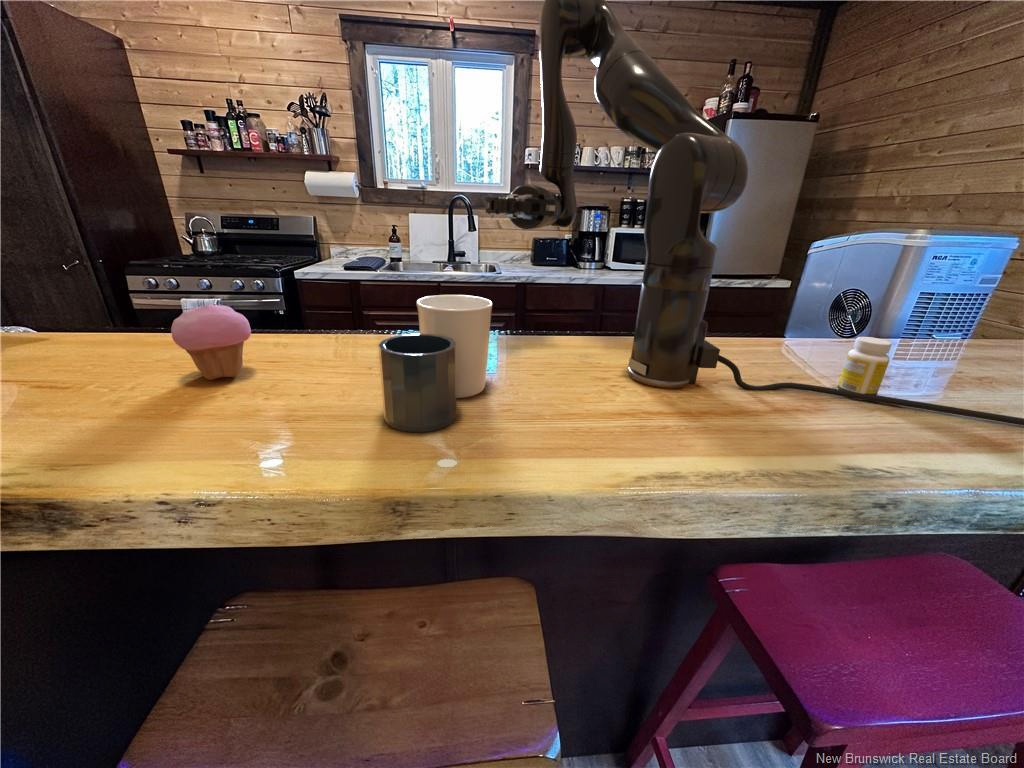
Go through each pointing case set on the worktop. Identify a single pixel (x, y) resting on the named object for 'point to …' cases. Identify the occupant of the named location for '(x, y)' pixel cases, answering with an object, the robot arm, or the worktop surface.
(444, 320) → the cream tumbler
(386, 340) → the cup
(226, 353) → the cupcake
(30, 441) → the worktop surface
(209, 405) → the worktop surface
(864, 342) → the supplement bottle
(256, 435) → the worktop surface
